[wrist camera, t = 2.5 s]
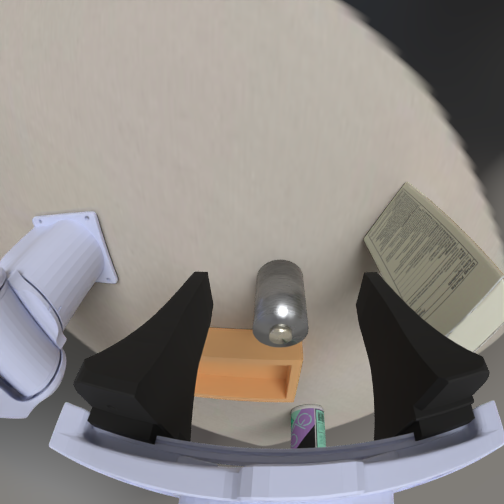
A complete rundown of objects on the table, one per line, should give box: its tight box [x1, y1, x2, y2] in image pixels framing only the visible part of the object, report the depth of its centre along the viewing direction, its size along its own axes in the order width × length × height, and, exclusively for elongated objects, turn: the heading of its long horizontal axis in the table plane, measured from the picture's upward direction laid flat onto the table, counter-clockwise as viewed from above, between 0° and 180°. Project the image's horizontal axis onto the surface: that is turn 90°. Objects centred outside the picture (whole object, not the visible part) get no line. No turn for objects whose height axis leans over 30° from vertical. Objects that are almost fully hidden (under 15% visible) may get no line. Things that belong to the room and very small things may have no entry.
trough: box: [194, 327, 303, 402], centre depth 30 cm, size 15×10×4 cm, turn 92°
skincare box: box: [364, 182, 504, 352], centre depth 15 cm, size 6×4×12 cm
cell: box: [253, 260, 308, 347], centre depth 21 cm, size 4×4×7 cm
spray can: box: [291, 404, 326, 449], centre depth 32 cm, size 6×6×20 cm
